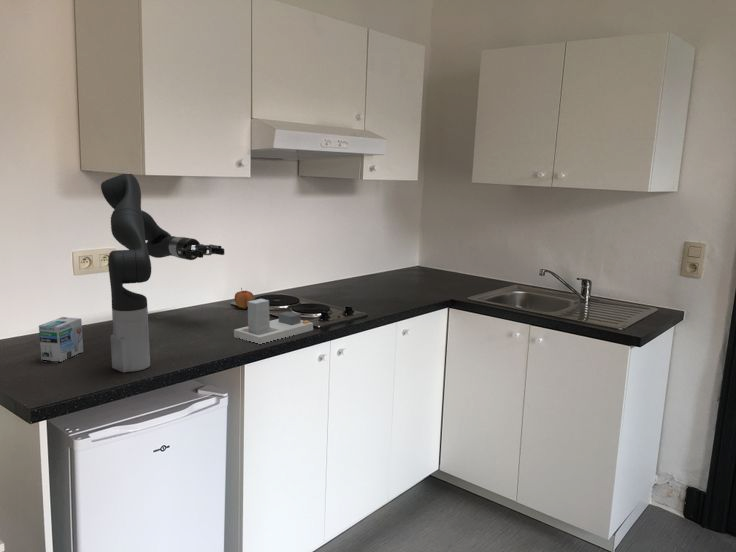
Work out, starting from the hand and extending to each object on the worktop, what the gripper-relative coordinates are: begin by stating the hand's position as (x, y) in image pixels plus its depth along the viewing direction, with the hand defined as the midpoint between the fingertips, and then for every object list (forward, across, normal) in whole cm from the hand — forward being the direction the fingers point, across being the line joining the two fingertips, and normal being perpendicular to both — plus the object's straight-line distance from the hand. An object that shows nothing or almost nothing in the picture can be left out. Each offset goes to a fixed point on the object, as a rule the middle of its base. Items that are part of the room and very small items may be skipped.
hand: (213, 253), depth 207 cm
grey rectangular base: (+17, +12, +27) cm, 34 cm away
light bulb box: (-10, -47, +27) cm, 55 cm away
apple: (-19, +28, +27) cm, 43 cm away
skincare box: (+16, +5, +27) cm, 32 cm away
